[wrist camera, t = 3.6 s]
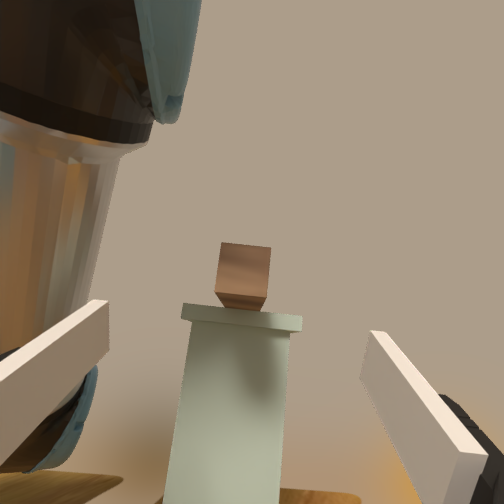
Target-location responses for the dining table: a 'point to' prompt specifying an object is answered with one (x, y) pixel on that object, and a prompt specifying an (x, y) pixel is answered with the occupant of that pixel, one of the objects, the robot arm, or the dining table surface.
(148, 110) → the robot arm
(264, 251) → the walnut bar
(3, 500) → the dining table surface
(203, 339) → the stand
